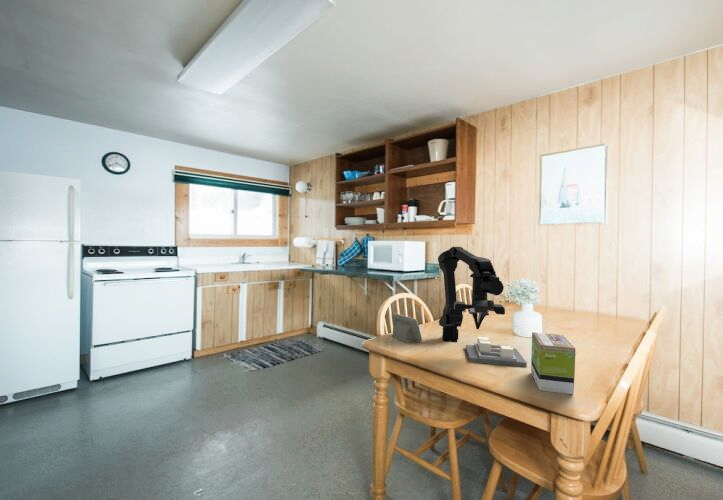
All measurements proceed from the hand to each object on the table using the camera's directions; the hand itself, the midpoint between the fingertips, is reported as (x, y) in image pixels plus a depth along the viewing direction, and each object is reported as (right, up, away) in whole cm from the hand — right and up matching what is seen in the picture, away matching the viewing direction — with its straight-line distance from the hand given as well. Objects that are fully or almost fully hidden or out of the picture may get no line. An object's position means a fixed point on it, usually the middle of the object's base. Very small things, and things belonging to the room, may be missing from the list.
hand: (477, 328), depth 139 cm
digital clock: (-26, -9, +20) cm, 34 cm away
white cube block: (+3, -9, -1) cm, 9 cm away
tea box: (+15, -12, -25) cm, 32 cm away
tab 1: (+3, -9, +4) cm, 10 cm away
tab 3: (+8, -9, -7) cm, 15 cm away
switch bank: (+6, -11, -2) cm, 12 cm away
